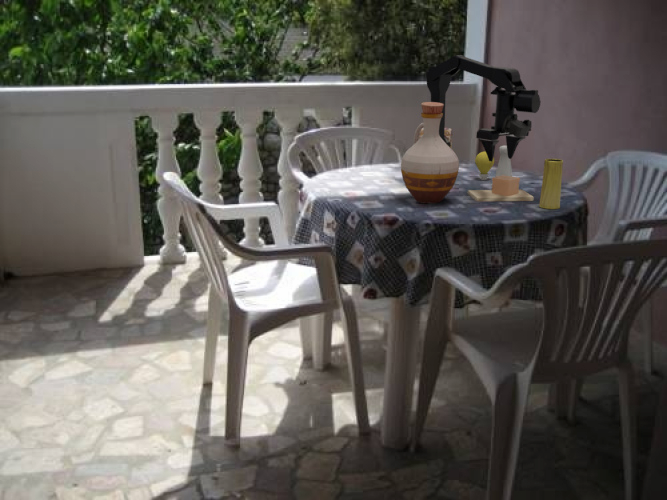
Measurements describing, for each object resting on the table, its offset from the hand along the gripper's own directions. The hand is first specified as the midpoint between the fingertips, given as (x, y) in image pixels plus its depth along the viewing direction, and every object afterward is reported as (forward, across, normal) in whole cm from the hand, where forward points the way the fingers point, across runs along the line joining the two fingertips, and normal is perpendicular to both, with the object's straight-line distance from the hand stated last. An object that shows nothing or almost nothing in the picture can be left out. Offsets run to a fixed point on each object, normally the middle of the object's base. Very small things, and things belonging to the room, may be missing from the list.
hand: (500, 159), depth 226 cm
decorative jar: (+13, +15, +44) cm, 48 cm away
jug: (+12, -22, +9) cm, 27 cm away
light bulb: (+12, +17, +21) cm, 30 cm away
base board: (+12, -1, -2) cm, 12 cm away
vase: (+12, 0, -20) cm, 23 cm away
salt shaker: (+12, +17, +12) cm, 24 cm away
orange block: (+10, 0, -3) cm, 11 cm away
